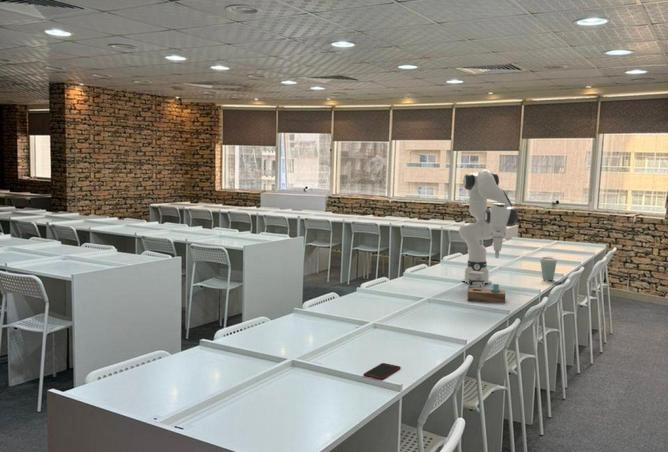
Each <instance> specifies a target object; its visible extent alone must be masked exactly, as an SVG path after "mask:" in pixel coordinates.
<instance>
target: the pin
mask: <svg viewBox="0 0 668 452" xmlns="http://www.w3.org/2000/svg"><path fill="white" fill-rule="evenodd" d="M499 287H500V284H499V283H493V284H492V289H493V292H499V290H500V289H499Z"/></svg>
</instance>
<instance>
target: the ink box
mask: <svg viewBox="0 0 668 452" xmlns="http://www.w3.org/2000/svg"><path fill="white" fill-rule="evenodd" d="M468 288H482V289H485V284H484V272H478V271H470V272H469V278H468V283H467V289H468Z"/></svg>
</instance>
